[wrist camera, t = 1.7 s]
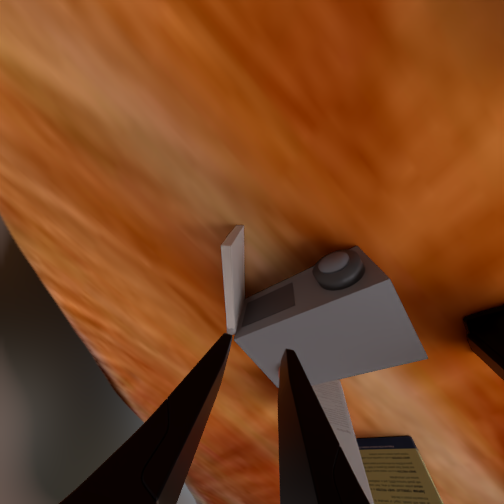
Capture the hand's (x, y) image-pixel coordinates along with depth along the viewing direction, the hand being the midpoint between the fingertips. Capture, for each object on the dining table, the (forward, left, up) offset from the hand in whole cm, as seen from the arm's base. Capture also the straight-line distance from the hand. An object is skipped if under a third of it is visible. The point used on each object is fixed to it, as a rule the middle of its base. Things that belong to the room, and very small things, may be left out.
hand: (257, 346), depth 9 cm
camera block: (0, +9, -12) cm, 15 cm away
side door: (+4, 0, -12) cm, 13 cm away
